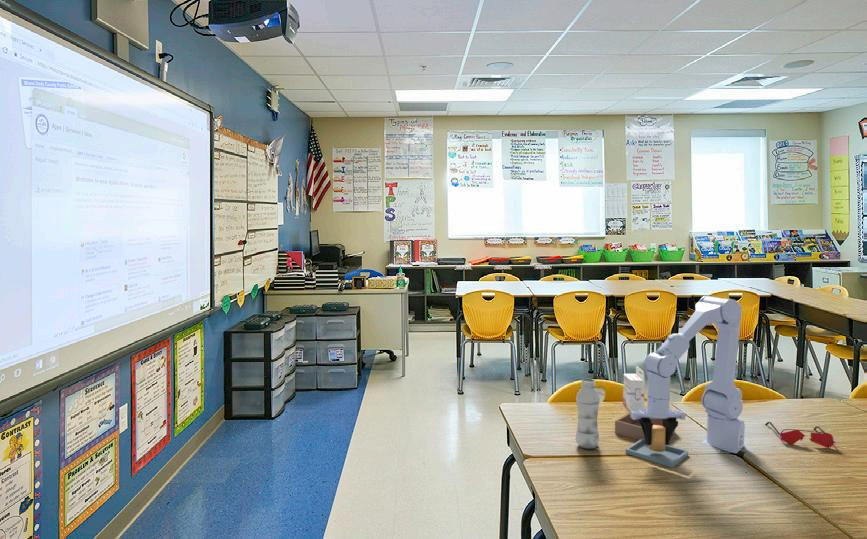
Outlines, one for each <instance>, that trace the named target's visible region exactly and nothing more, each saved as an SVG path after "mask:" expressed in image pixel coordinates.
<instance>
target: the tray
mask: <svg viewBox="0 0 867 539" xmlns="http://www.w3.org/2000/svg"><path fill="white" fill-rule="evenodd" d="M625 454H626V455H629V456H633V457H636V458H639V459H642V460H645V461H650V462H652V463H655V464H658V465H662V466H664V467H668V468H670V469H673V468H674V467H676V466H677V465H679V464H680V462H682V461H683V460H684V459H685V458H687V457H688V456H689V450H686V449H682V448H679V447H676V446H672V445H670V444H669V445H665V451H663V452H656V451H652V450H650V449H649V448H648V445H647V444H646V442H645V439H644V438H642V439H640V440H637V441H636V442H634V443H633V444H630V446H628V447H627V448H625Z"/></svg>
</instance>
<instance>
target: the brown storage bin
mask: <svg viewBox="0 0 867 539" xmlns="http://www.w3.org/2000/svg"><path fill="white" fill-rule="evenodd" d="M634 411H636V410H634ZM650 420H651V423H652V424H653V425H659V426H663V421H662V419H650ZM614 433H615V434H616V435H621V436H623V437H628V438H632V439H635V440H637V441H639V440H640V439H642V438H644V439H645V436H644V433H643V429H642V427H641V424H640V422H639V420H638V419H637V420H633V419H632V418H631V411H630V412H628V413H626V414H625V415H623V416H621V417H619V418H617V419H616V420H615V421H614ZM674 434H676V429H675V430H674V432H673V434H672V436H673V435H674Z"/></svg>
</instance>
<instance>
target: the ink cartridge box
mask: <svg viewBox="0 0 867 539" xmlns="http://www.w3.org/2000/svg"><path fill="white" fill-rule="evenodd" d="M635 371H636V372H635V373H623V387H622V388H623V389H622V391H623V393H622V406H625V407H626V408H627V409H628V410H629V411H630V412H631V411H634V410H643V409H645V396H646V395H645V390H646V389H645V387H646V380H645V371H644V370H642V369H641V368H640V367H639V366H638V365H635Z"/></svg>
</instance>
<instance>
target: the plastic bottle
mask: <svg viewBox="0 0 867 539" xmlns="http://www.w3.org/2000/svg"><path fill="white" fill-rule="evenodd" d="M580 386H581V388H580V389H579V390H578V392H577V393H576V397H575V399H576V408H577V427H576V428H577V429H576V432H575V441H576V444H577V446H578V447H580V448H583V449H587V450H592V449H597V447H598V446H599V444H600V443H599V442H600V434H599V428H598V425H599V424H598V414H599V413H598V412H599V408H600V407H599V406H600V395H599V393H598V392H597V391H596V390H595V389H596V380H595V379H592V378H588V377H587V378H582V379H581V385H580Z"/></svg>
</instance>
